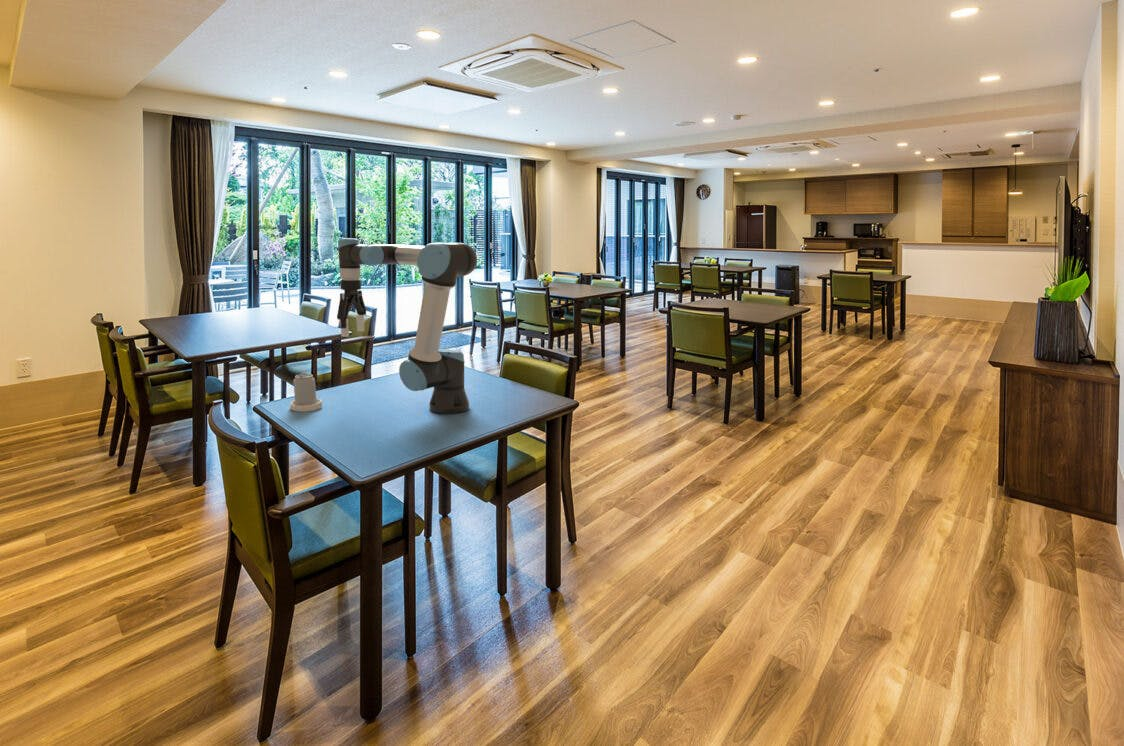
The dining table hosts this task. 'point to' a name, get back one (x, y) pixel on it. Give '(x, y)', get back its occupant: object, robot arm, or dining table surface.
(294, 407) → the bowl
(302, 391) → the can
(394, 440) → the dining table surface
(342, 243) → the robot arm
